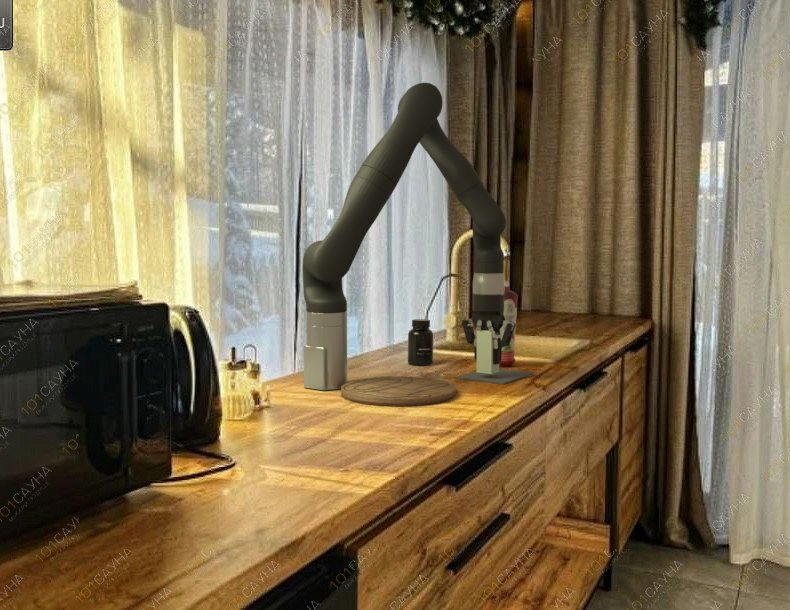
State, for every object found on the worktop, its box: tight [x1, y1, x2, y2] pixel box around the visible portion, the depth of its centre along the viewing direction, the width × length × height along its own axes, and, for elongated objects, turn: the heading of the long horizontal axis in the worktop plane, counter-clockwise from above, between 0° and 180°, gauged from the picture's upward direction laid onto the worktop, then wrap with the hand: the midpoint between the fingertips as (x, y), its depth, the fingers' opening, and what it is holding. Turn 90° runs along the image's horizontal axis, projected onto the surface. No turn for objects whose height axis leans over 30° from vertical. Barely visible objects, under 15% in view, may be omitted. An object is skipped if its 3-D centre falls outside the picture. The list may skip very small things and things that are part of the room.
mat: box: [455, 368, 535, 385], centre depth 185 cm, size 16×13×1 cm
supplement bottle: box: [407, 318, 434, 367], centre depth 203 cm, size 7×7×12 cm
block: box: [475, 330, 500, 374], centre depth 182 cm, size 4×4×10 cm
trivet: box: [340, 375, 457, 408], centre depth 164 cm, size 25×25×2 cm
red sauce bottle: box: [499, 259, 519, 368], centre depth 200 cm, size 7×7×28 cm
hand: (487, 362), depth 182 cm, fingers closed on block, 4 cm apart
